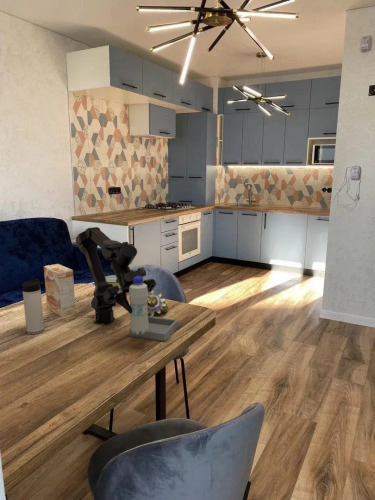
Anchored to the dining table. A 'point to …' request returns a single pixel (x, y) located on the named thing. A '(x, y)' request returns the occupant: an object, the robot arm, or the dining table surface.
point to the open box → (158, 329)
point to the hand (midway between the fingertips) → (139, 310)
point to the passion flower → (156, 303)
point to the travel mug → (33, 306)
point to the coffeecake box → (60, 289)
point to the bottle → (138, 306)
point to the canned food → (112, 281)
